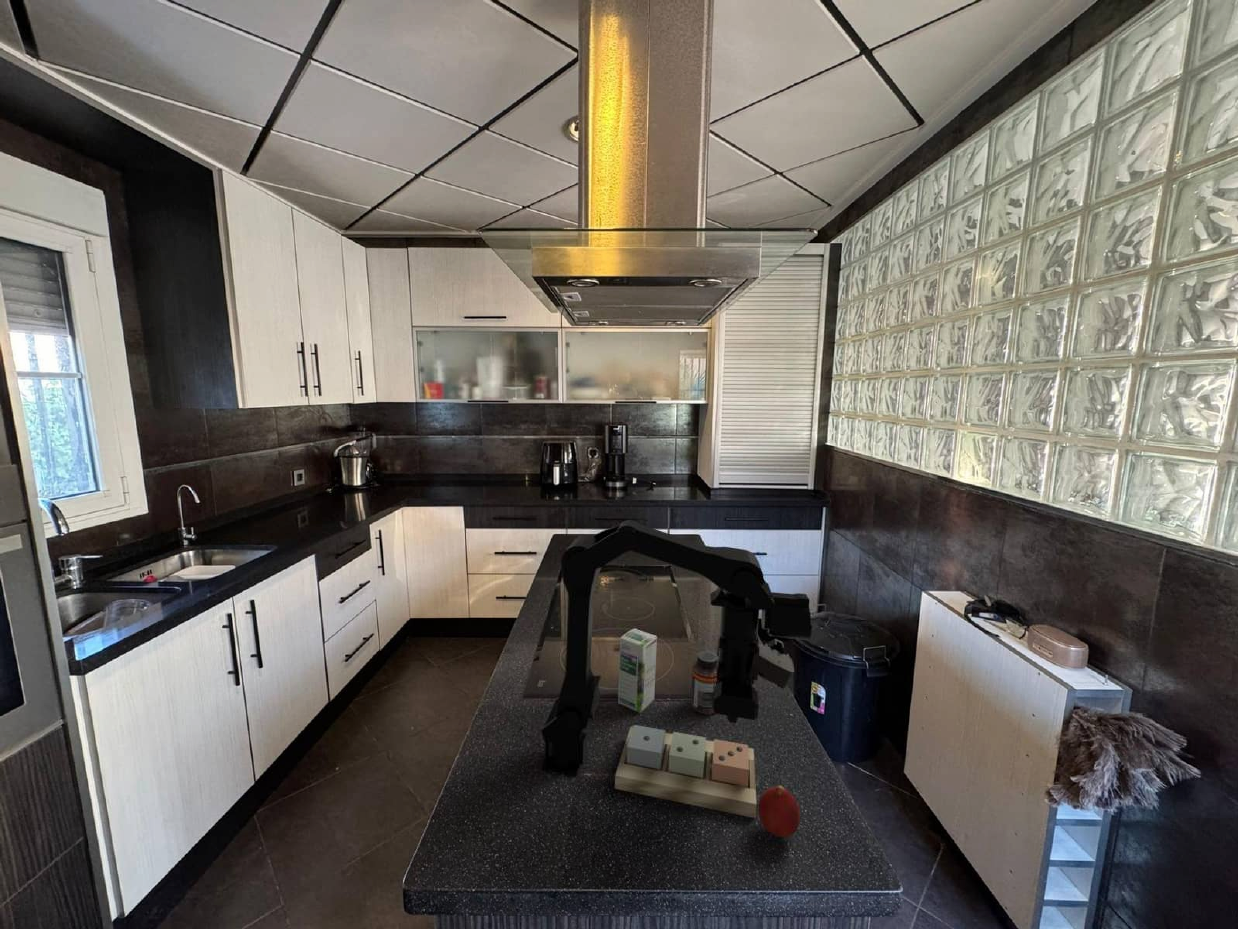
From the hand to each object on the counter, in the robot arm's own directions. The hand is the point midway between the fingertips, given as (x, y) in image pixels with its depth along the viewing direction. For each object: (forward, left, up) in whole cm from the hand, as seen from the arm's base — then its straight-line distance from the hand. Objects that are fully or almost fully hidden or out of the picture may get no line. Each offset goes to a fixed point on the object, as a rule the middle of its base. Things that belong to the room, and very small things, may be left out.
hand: (732, 721), depth 80 cm
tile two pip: (-7, 0, -9) cm, 11 cm away
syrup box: (-19, +17, -11) cm, 28 cm away
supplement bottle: (-5, +19, -11) cm, 23 cm away
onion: (+7, -8, -11) cm, 16 cm away
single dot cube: (-14, 0, -9) cm, 17 cm away
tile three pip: (0, 0, -9) cm, 9 cm away
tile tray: (-7, 0, -11) cm, 13 cm away
